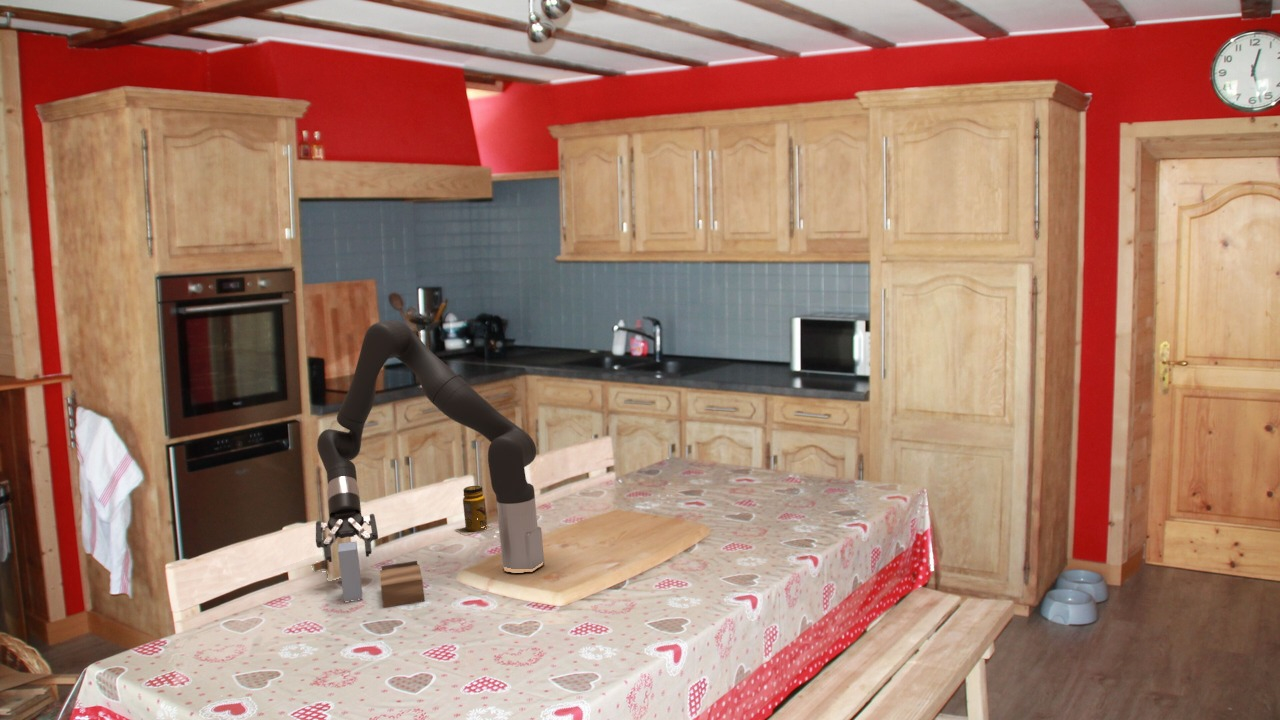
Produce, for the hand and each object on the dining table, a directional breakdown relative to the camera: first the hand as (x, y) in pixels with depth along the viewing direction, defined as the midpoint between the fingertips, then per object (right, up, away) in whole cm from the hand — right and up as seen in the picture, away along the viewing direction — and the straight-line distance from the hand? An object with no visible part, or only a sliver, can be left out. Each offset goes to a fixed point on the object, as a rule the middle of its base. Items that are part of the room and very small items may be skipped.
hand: (348, 557), depth 246 cm
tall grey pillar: (+2, -8, -5) cm, 10 cm away
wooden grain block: (+13, -7, -3) cm, 15 cm away
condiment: (+22, -1, +45) cm, 50 cm away
